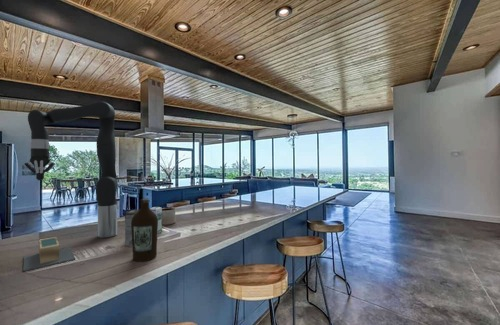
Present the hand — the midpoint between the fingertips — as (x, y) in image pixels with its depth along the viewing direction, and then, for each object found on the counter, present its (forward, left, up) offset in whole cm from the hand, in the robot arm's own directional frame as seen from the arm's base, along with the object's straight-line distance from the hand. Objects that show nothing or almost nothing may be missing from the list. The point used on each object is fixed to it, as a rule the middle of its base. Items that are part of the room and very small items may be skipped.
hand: (40, 180), depth 127 cm
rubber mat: (-14, +34, -32) cm, 49 cm away
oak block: (-11, +24, -28) cm, 39 cm away
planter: (-65, -9, -32) cm, 73 cm away
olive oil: (-52, +49, -32) cm, 78 cm away
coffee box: (-47, +26, -32) cm, 63 cm away
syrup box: (-57, +11, -32) cm, 66 cm away
